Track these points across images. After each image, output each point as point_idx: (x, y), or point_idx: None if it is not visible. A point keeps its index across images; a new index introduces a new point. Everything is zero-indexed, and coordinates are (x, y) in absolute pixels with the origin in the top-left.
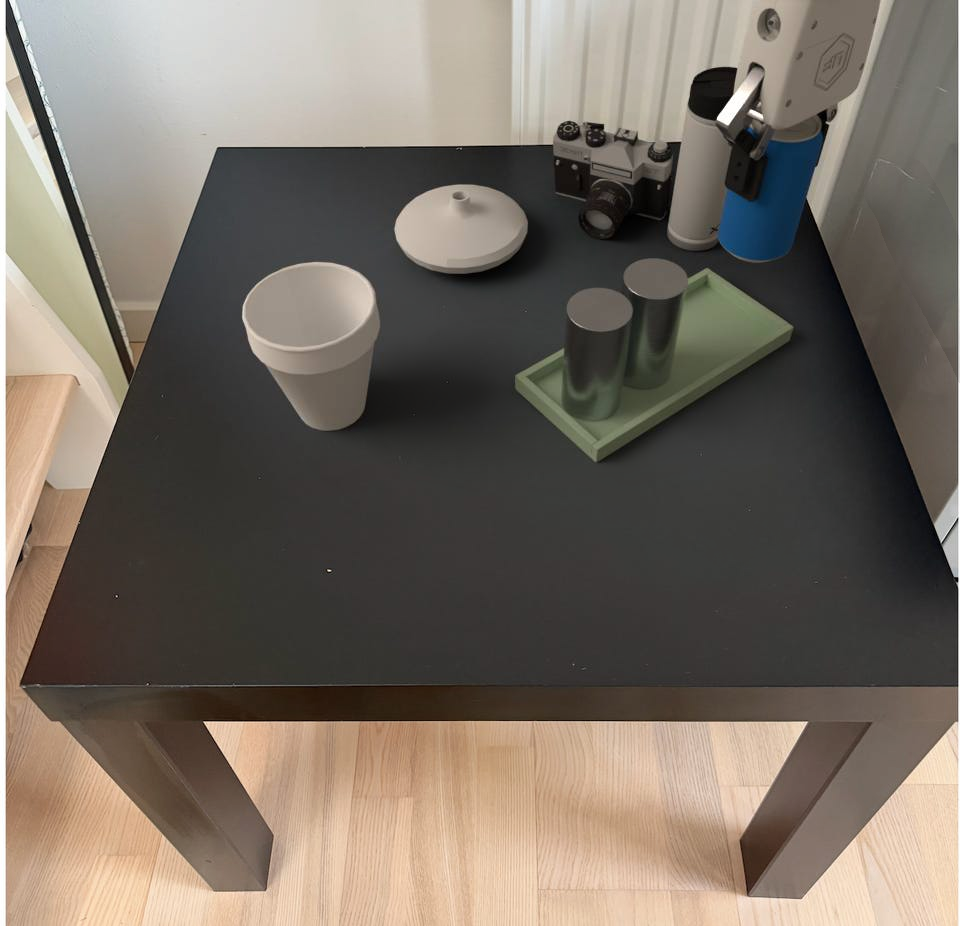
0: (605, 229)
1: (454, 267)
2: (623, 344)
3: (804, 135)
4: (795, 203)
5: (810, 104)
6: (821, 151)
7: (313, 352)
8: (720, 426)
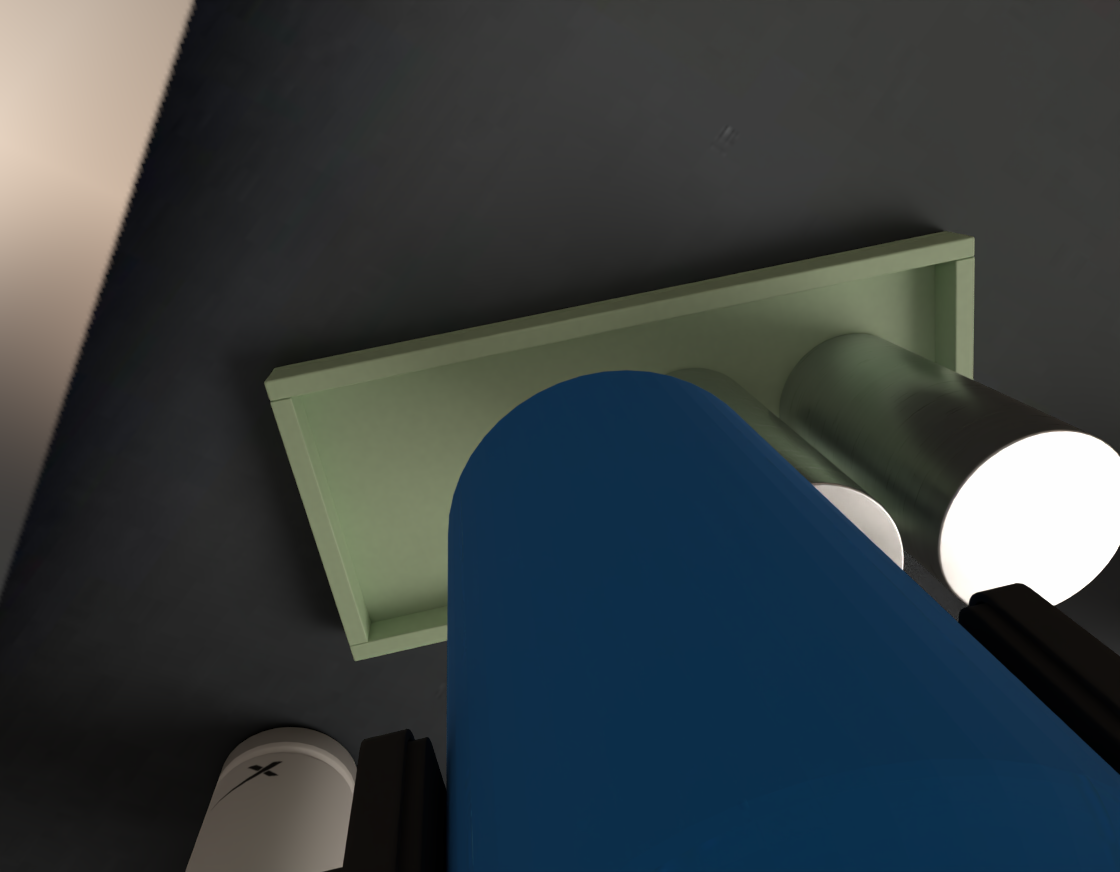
0: None
1: None
2: (964, 409)
3: None
4: (697, 492)
5: None
6: (348, 840)
7: None
8: (627, 189)
